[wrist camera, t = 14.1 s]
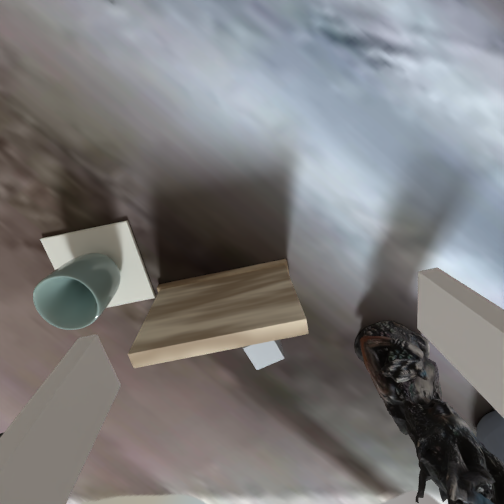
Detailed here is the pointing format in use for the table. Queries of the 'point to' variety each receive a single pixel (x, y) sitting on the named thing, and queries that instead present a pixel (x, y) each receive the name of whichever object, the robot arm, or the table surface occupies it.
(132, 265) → the pad
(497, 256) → the table surface
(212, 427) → the table surface
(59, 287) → the cup
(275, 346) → the slate block
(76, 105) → the table surface
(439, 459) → the sculpture
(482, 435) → the vase
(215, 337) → the wooden board
